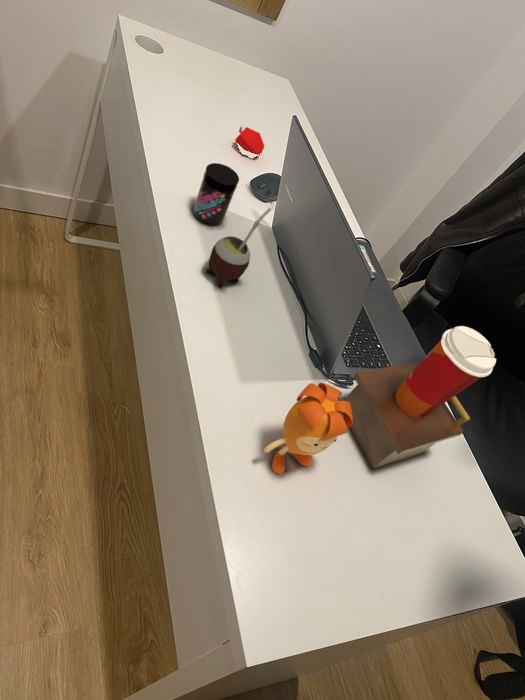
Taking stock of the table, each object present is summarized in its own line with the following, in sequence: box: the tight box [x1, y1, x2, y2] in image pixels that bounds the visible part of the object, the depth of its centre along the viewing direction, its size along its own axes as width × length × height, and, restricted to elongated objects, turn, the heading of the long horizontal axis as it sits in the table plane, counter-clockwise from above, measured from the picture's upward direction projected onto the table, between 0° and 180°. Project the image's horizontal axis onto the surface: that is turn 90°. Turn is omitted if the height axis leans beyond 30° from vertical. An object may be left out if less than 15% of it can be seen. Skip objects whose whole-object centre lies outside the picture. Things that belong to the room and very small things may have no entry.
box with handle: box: [342, 361, 471, 470], centre depth 81 cm, size 14×14×12 cm
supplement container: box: [192, 162, 240, 226], centre depth 100 cm, size 7×7×10 cm
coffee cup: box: [395, 325, 497, 419], centre depth 73 cm, size 8×8×15 cm
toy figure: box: [263, 382, 353, 475], centre depth 70 cm, size 12×8×15 cm, turn 112°
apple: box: [234, 126, 266, 155], centre depth 123 cm, size 7×7×8 cm
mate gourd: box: [205, 207, 272, 289], centre depth 89 cm, size 8×8×15 cm
